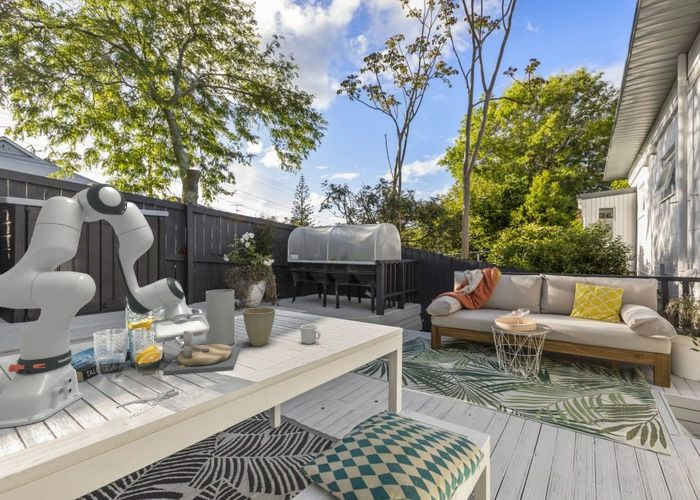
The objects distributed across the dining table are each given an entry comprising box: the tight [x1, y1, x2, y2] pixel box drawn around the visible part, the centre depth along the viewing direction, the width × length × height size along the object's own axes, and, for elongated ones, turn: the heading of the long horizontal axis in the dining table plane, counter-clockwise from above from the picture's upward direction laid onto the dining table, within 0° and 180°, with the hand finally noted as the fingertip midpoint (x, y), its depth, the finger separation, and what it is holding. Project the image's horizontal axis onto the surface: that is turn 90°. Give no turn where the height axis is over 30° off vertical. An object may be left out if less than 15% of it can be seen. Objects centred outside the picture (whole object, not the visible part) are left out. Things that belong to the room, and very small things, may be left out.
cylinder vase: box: [205, 288, 235, 346], centre depth 159 cm, size 12×12×25 cm
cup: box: [299, 323, 321, 345], centre depth 160 cm, size 11×8×8 cm
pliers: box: [116, 387, 180, 415], centre depth 101 cm, size 10×2×15 cm
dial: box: [177, 330, 232, 365], centre depth 135 cm, size 20×20×12 cm
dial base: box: [162, 346, 241, 376], centre depth 135 cm, size 24×24×2 cm
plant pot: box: [242, 307, 276, 347], centre depth 159 cm, size 15×15×16 cm
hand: (186, 346), depth 130 cm, fingers closed on dial
